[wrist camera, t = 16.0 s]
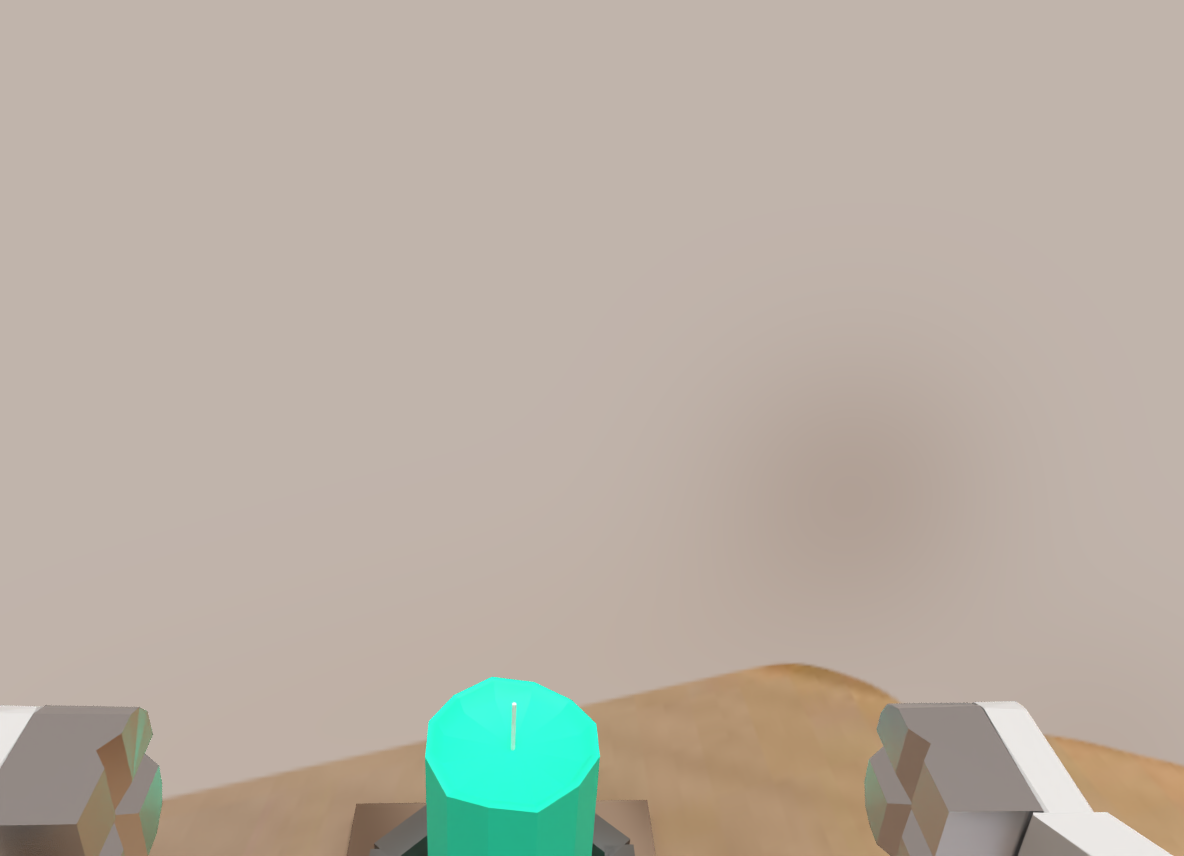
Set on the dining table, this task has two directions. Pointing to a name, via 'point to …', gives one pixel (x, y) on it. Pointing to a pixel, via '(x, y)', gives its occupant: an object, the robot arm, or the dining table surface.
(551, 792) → the candle
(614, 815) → the collar holder
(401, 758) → the dining table surface
